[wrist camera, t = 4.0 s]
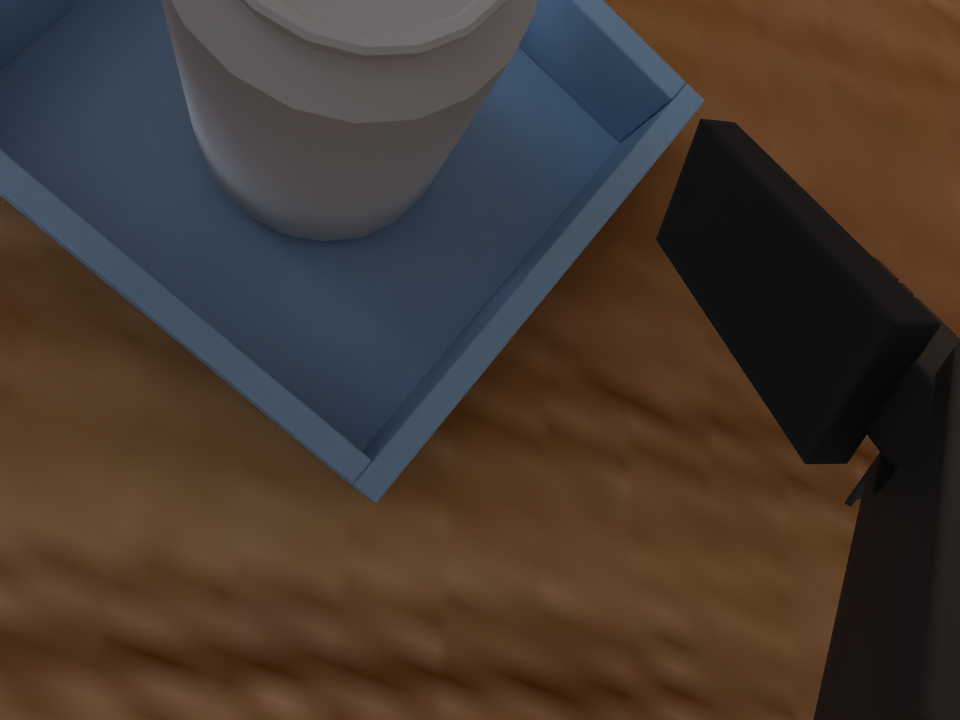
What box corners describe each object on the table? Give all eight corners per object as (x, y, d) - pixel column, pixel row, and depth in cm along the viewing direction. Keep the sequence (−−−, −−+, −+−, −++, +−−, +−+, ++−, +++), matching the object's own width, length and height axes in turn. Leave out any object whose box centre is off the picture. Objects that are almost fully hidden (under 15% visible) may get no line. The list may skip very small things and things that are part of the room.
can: (397, 281, 25) (508, 152, 14) (158, 196, 23) (51, -33, 12) (465, 72, 26) (619, -210, 15) (242, -22, 25) (220, -423, 13)
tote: (-93, 119, 22) (-171, 51, 18) (283, -204, 26) (286, -319, 22) (359, 492, 24) (376, 504, 20) (645, 147, 28) (706, 100, 24)
